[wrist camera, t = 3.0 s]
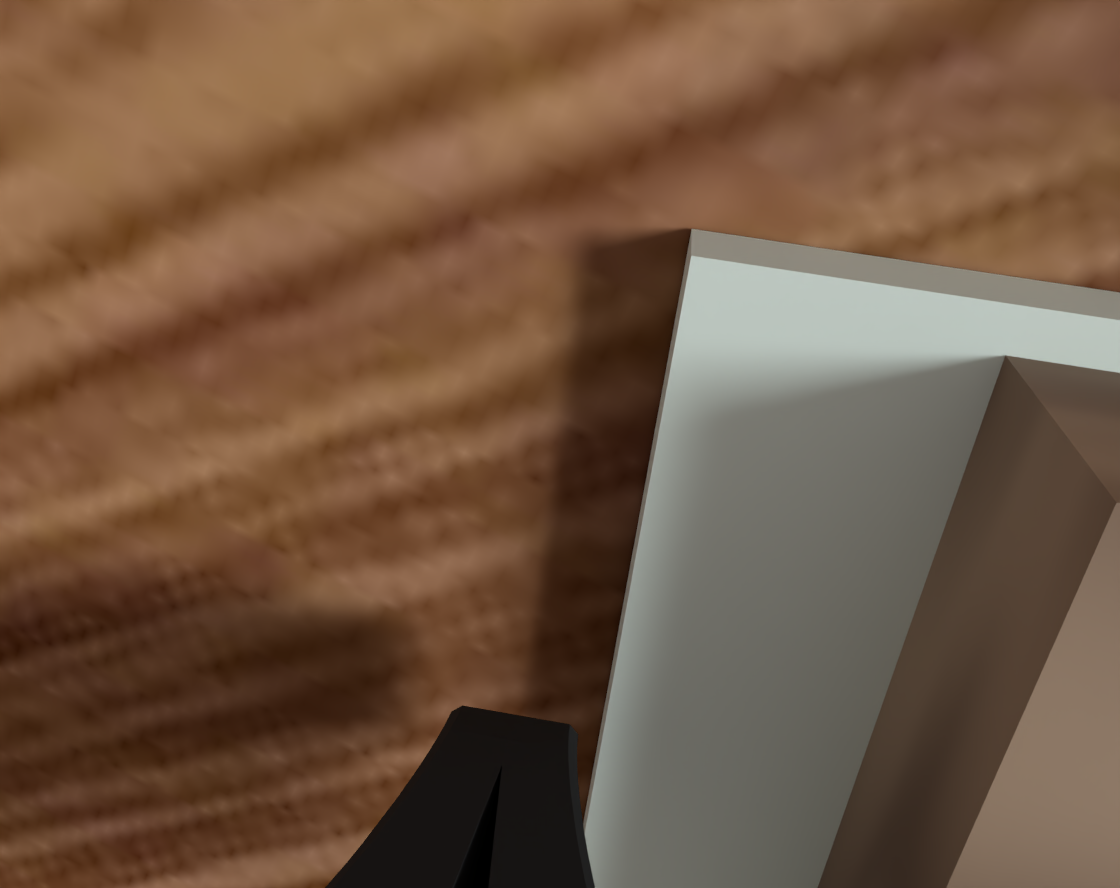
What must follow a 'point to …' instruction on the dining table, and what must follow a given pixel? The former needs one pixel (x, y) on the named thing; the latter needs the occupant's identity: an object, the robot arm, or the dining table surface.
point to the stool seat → (794, 541)
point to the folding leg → (1007, 664)
